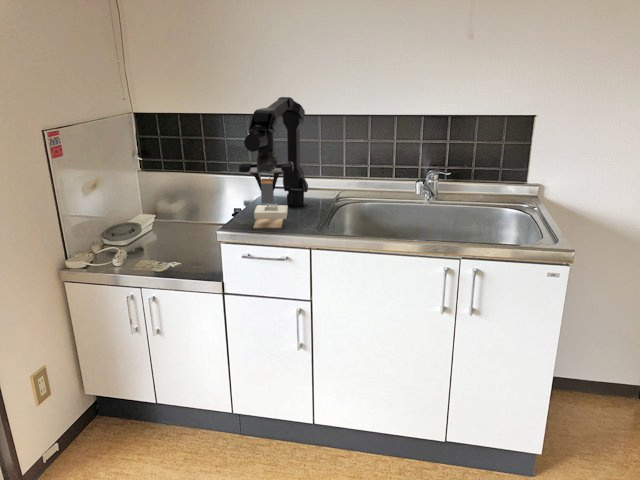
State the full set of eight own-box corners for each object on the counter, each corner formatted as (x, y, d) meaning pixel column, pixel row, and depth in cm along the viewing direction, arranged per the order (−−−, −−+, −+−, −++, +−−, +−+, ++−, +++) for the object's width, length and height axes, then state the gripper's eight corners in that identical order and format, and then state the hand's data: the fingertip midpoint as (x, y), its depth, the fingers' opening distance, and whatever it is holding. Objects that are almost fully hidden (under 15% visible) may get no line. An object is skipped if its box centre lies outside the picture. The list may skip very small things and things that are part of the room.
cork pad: (283, 219, 201) (283, 218, 201) (281, 228, 191) (281, 227, 191) (256, 219, 201) (256, 218, 201) (253, 228, 191) (253, 227, 191)
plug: (273, 200, 195) (273, 178, 193) (272, 203, 191) (272, 181, 189) (262, 200, 195) (262, 178, 192) (261, 203, 191) (260, 181, 189)
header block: (287, 211, 211) (287, 203, 210) (286, 218, 202) (286, 210, 200) (257, 211, 211) (256, 203, 210) (254, 219, 202) (253, 210, 201)
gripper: (235, 151, 179) (238, 196, 184) (291, 150, 179) (292, 196, 184) (240, 145, 190) (242, 188, 195) (293, 145, 189) (294, 188, 195)
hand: (267, 190), depth 192 cm, fingers closed on plug, 4 cm apart
